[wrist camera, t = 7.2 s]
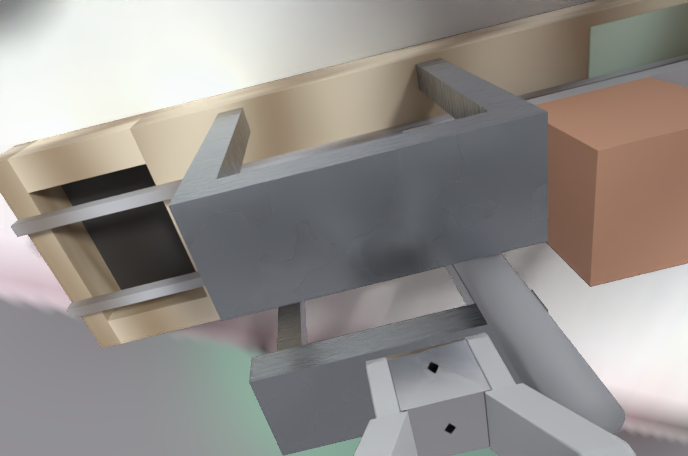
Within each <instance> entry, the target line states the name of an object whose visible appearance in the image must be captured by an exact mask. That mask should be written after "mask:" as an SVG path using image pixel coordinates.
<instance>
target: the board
mask: <svg viewBox="0 0 688 456" xmlns="http://www.w3.org/2000/svg"><path fill="white" fill-rule="evenodd" d="M437 58H442V59H444V60H446V61H448V62H450V63H452V64H454V65H456V66H458V67H460V68H462V69H464V70H466V71H468V72H470V73H472V74H474V75H476V76H478V77H480V78H482V79H484V80H486V81H488V82H490V83H492V84H494V85H496V86H498V87H500V88H502V89H504V90H506V91H508V92H510V93H512V94H514V95H516V96H518V97H520V98H522V99H524V100H529V99H533V98H537V97H541V96H545V95H549V94H553V93H557V92H561V91H565V90H569V89H573V88H577V87H581V86H585V85H589V84H593V83H597V82H601V81H605V80H609V79H613V78H617V77H622V76H626V75H630V74H634V73H638V72H642V71H646V70H650V69H654V68H658V67H662V66H666V65H670V64H674V63H678V62H682V61H686V60H688V0H595V1H591V2H587V3H583V4H579V5H575V6H571V7H567V8H563V9H559V10H555V11H551V12H547V13H543V14H539V15H535V16H531V17H527V18H523V19H519V20H515V21H511V22H507V23H503V24H499V25H495V26H491V27H487V28H483V29H479V30H475V31H471V32H467V33H463V34H459V35H455V36H451V37H447V38H443V39H439V40H435V41H431V42H427V43H423V44H419V45H415V46H411V47H407V48H403V49H399V50H395V51H391V52H387V53H383V54H379V55H375V56H371V57H367V58H363V59H359V60H355V61H352V62H348V63H344V64H340V65H336V66H332V67H328V68H324V69H320V70H316V71H312V72H308V73H304V74H300V75H296V76H292V77H288V78H284V79H280V80H276V81H272V82H268V83H264V84H260V85H256V86H252V87H248V88H244V89H240V90H236V91H232V92H228V93H224V94H220V95H216V96H212V97H208V98H204V99H200V100H196V101H192V102H188V103H184V104H180V105H176V106H172V107H168V108H164V109H160V110H156V111H152V112H148V113H144V114H140V115H136V116H132V117H128V118H124V119H120V120H116V121H112V122H108V123H104V124H100V125H96V126H92V127H88V128H84V129H80V130H76V131H72V132H68V133H64V134H60V135H56V136H52V137H48V138H44V139H40V140H36V141H32V142H28V143H24V144H20V145H16V146H14V147H13V148H11V149H9V150H8V151H6V152H4V153H3V154H1V155H0V193H1V194H2V196H3V197H4V199H5V200H6V202H7V203H8V205H9V206H10V208H11V209H12V211H13V213H14V214H15V216H16V217H17V219H18V221H16V222H15V223H14V224H13V225H12V226H11V228H12V229H13V231H14V232H15V234H16V235H17V237H19V236H23V235H27V234H28V236H29V237H30V239H31V240H32V242H33V243H34V245H35V246H36V248H37V249H38V251H39V252H40V254H41V255H42V257H43V259H44V260H45V262H46V263H47V265H48V266H49V268H50V269H51V271H52V272H53V274H54V275H55V277H56V278H57V280H58V282H59V283H60V285H61V286H62V288H63V289H64V291H65V292H66V294H67V295H68V297H69V298H70V300H71V301H72V303H71V305H70V306H69V307H68V309H67V312H68V313H69V315H70V316H71V318H77V317H82V318H83V320H84V321H85V323H86V324H87V326H88V327H89V329H90V330H91V332H92V334H93V335H94V337H95V338H96V340H97V341H98V343H99V344H100V346H101V347H102V348H106V347H110V346H115V345H118V344H123V343H127V342H131V341H135V340H139V339H143V338H147V337H151V336H155V335H159V334H164V333H168V332H172V331H176V330H180V329H184V328H188V327H192V326H196V325H200V324H205V323H209V322H213V321H217V320H221V319H220V317H219V315H218V313H217V311H216V309H215V306H214V304H213V302H212V300H211V298H210V295H209V293H208V291H207V289H206V287H205V285H204V282H203V280H202V278H201V276H200V274H199V272H198V269H197V267H196V265H195V263H194V261H193V258H192V256H191V254H190V252H189V250H188V248H187V245H186V243H185V241H184V239H183V237H182V235H181V232H180V230H179V228H178V226H177V224H176V221H175V219H174V217H173V215H172V213H171V211H170V208H169V204H170V202H171V200H172V198H173V196H174V194H175V193H176V191H177V189H178V187H179V185H180V183H181V181H182V180H183V178H184V176H185V174H186V172H187V170H188V168H189V167H190V165H191V163H192V161H193V159H194V157H195V155H196V154H197V152H198V150H199V148H200V146H201V144H202V142H203V141H204V139H205V137H206V135H207V133H208V131H209V129H210V128H211V126H212V124H213V122H214V120H215V118H216V116H217V115H218V113H221V112H225V111H229V110H233V109H237V108H241V107H243V109H244V112H245V115H246V118H247V122H248V125H249V128H250V131H251V132H250V136H249V140H248V144H247V148H246V152H245V156H244V159H243V163H242V167H241V171H240V173H243V172H247V171H251V170H255V169H259V168H263V167H267V166H271V165H275V164H279V163H283V162H287V161H291V160H295V159H299V158H303V157H307V156H311V155H315V154H319V153H323V152H327V151H331V150H335V149H340V148H344V147H348V146H352V145H356V144H360V143H364V142H368V141H372V140H376V139H380V138H384V137H388V136H392V135H396V134H400V133H403V131H404V130H408V129H412V128H416V127H420V126H424V125H428V124H432V123H436V122H440V121H444V120H448V119H452V118H453V117H452V116H451V115H449V114H448V113H447V112H446V111H445V110H443V109H442V108H441V107H440V106H439V105H437V104H436V103H435V102H434V101H433V100H431V99H430V98H429V97H428V96H427V95H425V94H424V93H423V92H422V91H420V90H419V85H418V78H417V70H416V64H417V63H421V62H425V61H429V60H433V59H437Z"/></svg>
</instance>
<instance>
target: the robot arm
mask: <svg viewBox="0 0 688 456" xmlns="http://www.w3.org/2000/svg"><path fill="white" fill-rule="evenodd" d="M386 357H387V359H386ZM386 357H383V358H378V359H374V360H369V361H366V371H367V376H368V381H369V386H370V391H371V396H372V401H373V406H374V411H375V416H376V418H375V419H371V420H370V421H369V423H368V425H367V427H366V429H365V431H364V434H363V436H362V438H361V440H360V442H359V445H358V447H357V449H356V451H355V453H354V456H451V455H454V454H459V453H464V452H469V451H473V450H478V449H483V448H488V447H490V448H491V450H492V451H494V452H495V453H496V454H497V455H498V456H637V455H636V454H635V453H634V451H633V450H632V449H631V447H630V446H629V445H628V443H627V442H625V441H623V440H621V439H620V438H618V437H616V436H614V435H613V434H611V433H609V432H607V431H606V430H604V429H602V428H600V427H599V426H597V425H595V424H593V423H592V422H590V421H588V420H586V419H585V418H583V417H581V416H579V415H578V414H576V413H574V412H572V411H571V410H569V409H567V408H565V407H564V406H562V405H560V404H558V403H557V402H555V401H553V400H551V399H550V398H548V397H546V396H544V395H543V394H541V393H539V392H537V391H536V390H534V389H532V388H530V387H529V386H527V385H525V384H523V383H521V384H516V383H515V381H514V380H513V378H512V376H511V374H510V373H509V371H508V369H507V367H506V366H505V364H504V362H503V360H502V359H501V357H500V355H499V353H498V352H497V350H496V348H495V346H494V345H493V343H492V341H491V339H490V338H489V336H488V335H487V334H486V333H485V332H484V333H480V334H476V335H472V336H468V337H465V338H461V339H457V340H453V341H449V342H445V343H441V344H437V345H433V346H429V347H425V348H422V349H418V350H413V351H408V352H404V353H399V354H395V355H390V356H386Z"/></svg>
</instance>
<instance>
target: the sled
mask: <svg viewBox="0 0 688 456" xmlns="http://www.w3.org/2000/svg"><path fill="white" fill-rule="evenodd" d="M526 101H528V102H530V103H532V104H534V105H536V106H538V107H540V108H542V109H544V110H546V111H548V241H546V243H547V244H548V245H549V246H550V247H551V248H552V249H553V250H554V251H555V252H556V253H557V254H558V255H559V256H560V257H561V258H562V259H563V260H564V261H565V262H566V263H567V264H568V265H569V266H570V267H571V268H572V269H573V270H574V271H575V272H576V273H577V274H578V275H579V276H580V277H581V278H582V279H583V280H584V281H585V282H586V283H587V284H588V285H589V286H590V287H592V286H596V285H600V284H604V283H608V282H612V281H616V280H621V279H625V278H629V277H633V276H637V275H641V274H645V273H649V272H653V271H658V270H662V269H666V268H670V267H674V266H678V265H682V264H686V263H688V60H686V61H682V62H678V63H674V64H670V65H666V66H662V67H658V68H654V69H650V70H646V71H642V72H638V73H634V74H630V75H626V76H622V77H617V78H613V79H609V80H605V81H601V82H597V83H593V84H589V85H585V86H581V87H577V88H573V89H569V90H565V91H561V92H557V93H553V94H549V95H545V96H541V97H537V98H533V99H529V100H526ZM452 120H456V119H454V118H452V119H448V120H444V121H440V122H436V123H432V124H428V125H424V126H420V127H416V128H412V129H408V130H404V131H403V133H404V132H408V131H412V130H416V129H420V128H424V127H428V126H432V125H436V124H440V123H444V122H448V121H452ZM453 265H454V267H455V268H456V270H457V272H458V274H459V275H460V277H461V279H462V280H463V282H464V284H465V286H466V287H467V289H468V291H469V292H470V294H471V296H472V298H473V299H474V301H475V303H476V305H477V306H478V308H479V310H480V311H481V313H482V315H483V317H484V318H485V320H486V322H487V323H488V325H489V327H490V329H491V330H492V332H493V334H494V336H495V337H496V339H497V341H498V342H499V344H500V346H501V348H502V349H503V351H504V353H505V354H506V356H507V358H508V360H509V361H510V363H511V365H512V367H513V368H514V370H515V372H516V373H517V375H518V377H519V379H520V380H521V382H522V383H523V384H525V385H527V386H529V387H530V388H532V389H534V390H536V391H537V392H539V393H541V394H543V395H544V396H546V397H548V398H550V399H551V400H553V401H555V402H557V403H558V404H560V405H562V406H564V407H565V408H567V409H569V410H571V411H572V412H574V413H576V414H578V415H579V416H581V417H583V418H585V419H586V420H588V421H590V422H592V423H593V424H595V425H597V426H599V427H600V428H602V429H604V430H606V431H607V432H609V433H611V434H613V435H615V434H616V433H617V432H618V431H619V430H620V428H621V427H622V425H623V423H624V420H625V412H624V410H623V408H622V407H621V406H620V404H619V403H618V402H617V401H616V399H615V398H614V397H613V395H612V394H611V393H610V392H609V390H608V389H607V388H606V386H605V385H604V384H603V383H602V381H601V380H600V379H599V378H598V376H597V375H596V374H595V372H594V371H593V370H592V369H591V367H590V366H589V365H588V363H587V362H586V361H585V360H584V358H583V357H582V356H581V354H580V353H579V352H578V351H577V349H576V348H575V347H574V346H573V344H572V343H571V342H570V340H569V339H568V338H567V337H566V335H565V334H564V333H563V331H562V330H561V329H560V328H559V326H558V325H557V324H556V323H555V321H554V320H553V319H552V317H551V316H550V315H549V314H548V312H547V311H546V310H545V308H544V307H543V306H542V305H541V303H540V302H539V301H538V299H537V298H536V297H535V296H534V294H533V293H532V292H531V291H530V289H529V288H528V287H527V285H526V284H525V283H524V282H523V280H522V279H521V278H520V276H519V275H518V274H517V273H516V271H515V270H514V269H513V268H512V266H511V265H510V264H509V262H508V261H507V260H506V259H505V257H504V256H503V255H502V253H497V254H493V255H489V256H485V257H481V258H477V259H473V260H469V261H464V262H460V263H456V264H453Z"/></svg>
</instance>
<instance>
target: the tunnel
mask: <svg viewBox="0 0 688 456" xmlns="http://www.w3.org/2000/svg"><path fill="white" fill-rule="evenodd" d="M416 70H417V78H418V85H419V90H420V91H422V92H423V93H424V94H425V95H427V96H428V97H429V98H430V99H431V100H433V101H434V102H435V103H436V104H437V105H439V106H440V107H441V108H442V109H443V110H445V111H446V112H447V113H448V114H449V115H451V116H452V117H453V118H454V119H456V120H452V121H448V122H444V123H440V124H436V125H432V126H428V127H424V128H420V129H416V130H412V131H408V132H404V133H400V134H396V135H392V136H388V137H384V138H380V139H376V140H372V141H368V142H364V143H360V144H356V145H352V146H348V147H344V148H340V149H335V150H331V151H327V152H323V153H319V154H315V155H311V156H307V157H303V158H299V159H295V160H291V161H287V162H283V163H279V164H275V165H271V166H267V167H263V168H259V169H255V170H251V171H247V172H243V173H240V171H241V167H242V163H243V159H244V156H245V152H246V148H247V144H248V140H249V136H250V132H251V131H250V128H249V125H248V122H247V118H246V115H245V112H244V109H243V107H241V108H237V109H233V110H229V111H225V112H221V113H218V115H217V116H216V118H215V120H214V122H213V124H212V126H211V128H210V129H209V131H208V133H207V135H206V137H205V139H204V141H203V142H202V144H201V146H200V148H199V150H198V152H197V154H196V155H195V157H194V159H193V161H192V163H191V165H190V167H189V168H188V170H187V172H186V174H185V176H184V178H183V180H182V181H181V183H180V185H179V187H178V189H177V191H176V193H175V194H174V196H173V198H172V200H171V202H170V204H169V208H170V211H171V213H172V215H173V217H174V219H175V221H176V224H177V226H178V228H179V230H180V232H181V235H182V237H183V239H184V241H185V243H186V245H187V248H188V250H189V252H190V254H191V256H192V258H193V261H194V263H195V265H196V267H197V269H198V272H199V274H200V276H201V278H202V280H203V282H204V285H205V287H206V289H207V291H208V293H209V295H210V298H211V300H212V302H213V304H214V306H215V309H216V311H217V313H218V315H219V317H220V319H221V321H223V320H227V319H231V318H235V317H239V316H244V315H248V314H252V313H256V312H260V311H264V310H268V309H272V308H276V307H279V308H278V339H277V352H273V353H269V354H265V355H261V356H257V357H253V358H252V360H251V371H250V380H249V382H250V385H251V387H252V389H253V391H254V393H255V396H256V398H257V400H258V402H259V404H260V407H261V409H262V411H263V413H264V415H265V417H266V420H267V422H268V424H269V426H270V428H271V430H272V433H273V435H274V437H275V439H276V441H277V444H278V446H279V448H280V450H281V452H282V454H283V455H287V454H291V453H296V452H300V451H303V450H308V449H312V448H316V447H320V446H325V445H329V444H333V443H337V442H341V441H346V440H350V439H354V438H358V437H362V436H363V434H364V431H365V429H366V427H367V425H368V423H369V421H370V420H371V419H375V418H376V416H375V411H374V406H373V401H372V396H371V391H370V386H369V381H368V376H367V371H366V361H369V360H374V359H378V358H383V357H386V356H390V355H395V354H399V353H404V352H408V351H413V350H418V349H422V348H425V347H429V346H433V345H437V344H441V343H445V342H449V341H453V340H457V339H461V338H465V337H468V336H472V335H476V334H480V333H484V332H485V333H486V334H487V335H488V336H489V338H490V339H491V341H492V343H493V345H494V346H495V348H496V350H497V352H498V353H499V355H500V357H501V359H502V360H503V362H504V364H505V366H506V367H507V369H508V371H509V373H510V374H511V376H512V378H513V380H514V381H515V383H516V384H521V383H522V382H521V380H520V379H519V377H518V375H517V373H516V372H515V370H514V368H513V367H512V365H511V363H510V361H509V360H508V358H507V356H506V354H505V353H504V351H503V349H502V348H501V346H500V344H499V342H498V341H497V339H496V337H495V336H494V334H493V332H492V330H491V329H490V327H489V325H488V323H487V322H486V320H485V318H484V317H483V315H482V313H481V311H480V310H479V308H478V306H477V305H476V303H475V301H474V299H473V298H472V296H471V294H470V292H469V291H468V289H467V287H466V286H465V284H464V282H463V280H462V279H461V277H460V275H459V274H458V272H457V270H456V268H455V267H454V265H453V264H456V263H460V262H464V261H469V260H473V259H477V258H481V257H485V256H489V255H493V254H497V253H501V252H505V251H510V250H514V249H518V248H522V247H526V246H530V245H534V244H538V243H542V242H546V241H548V111H546V110H544V109H542V108H540V107H538V106H536V105H534V104H532V103H530V102H528V101H526V100H524V99H522V98H520V97H518V96H516V95H514V94H512V93H510V92H508V91H506V90H504V89H502V88H500V87H498V86H496V85H494V84H492V83H490V82H488V81H486V80H484V79H482V78H480V77H478V76H476V75H474V74H472V73H470V72H468V71H466V70H464V69H462V68H460V67H458V66H456V65H454V64H452V63H450V62H448V61H446V60H444V59H442V58H437V59H433V60H429V61H425V62H421V63H417V64H416ZM444 266H445V267H446V268H447V270H448V272H449V274H450V276H451V278H452V279H453V281H454V283H455V285H456V287H457V288H458V290H459V292H460V294H461V296H462V298H463V299H464V301H465V303H466V306H462V307H458V308H454V309H450V310H446V311H442V312H438V313H433V314H429V315H425V316H421V317H417V318H413V319H409V320H405V321H401V322H396V323H392V324H388V325H384V326H380V327H376V328H372V329H368V330H364V331H359V332H355V333H351V334H347V335H343V336H339V337H335V338H331V339H327V340H322V341H318V342H314V343H310V344H307V333H306V312H305V300H309V299H313V298H317V297H321V296H325V295H329V294H334V293H338V292H342V291H346V290H350V289H354V288H358V287H362V286H366V285H370V284H374V283H379V282H383V281H387V280H391V279H395V278H399V277H403V276H407V275H411V274H415V273H419V272H424V271H428V270H432V269H436V268H440V267H444ZM530 291H531V292H532V293H533V294H534V296H535V297H536V298H537V299H538V301H539V302H540V303H541V305H542V306H543V307H544V308H545V310H546V311H547V312H548V309H547V308H546V307H545V306H544V304H543V303H542V302H541V300H540V299H539V298H538V297H537V295H536V294H535V293H534V292H533V290H530ZM386 359H387V357H386Z"/></svg>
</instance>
